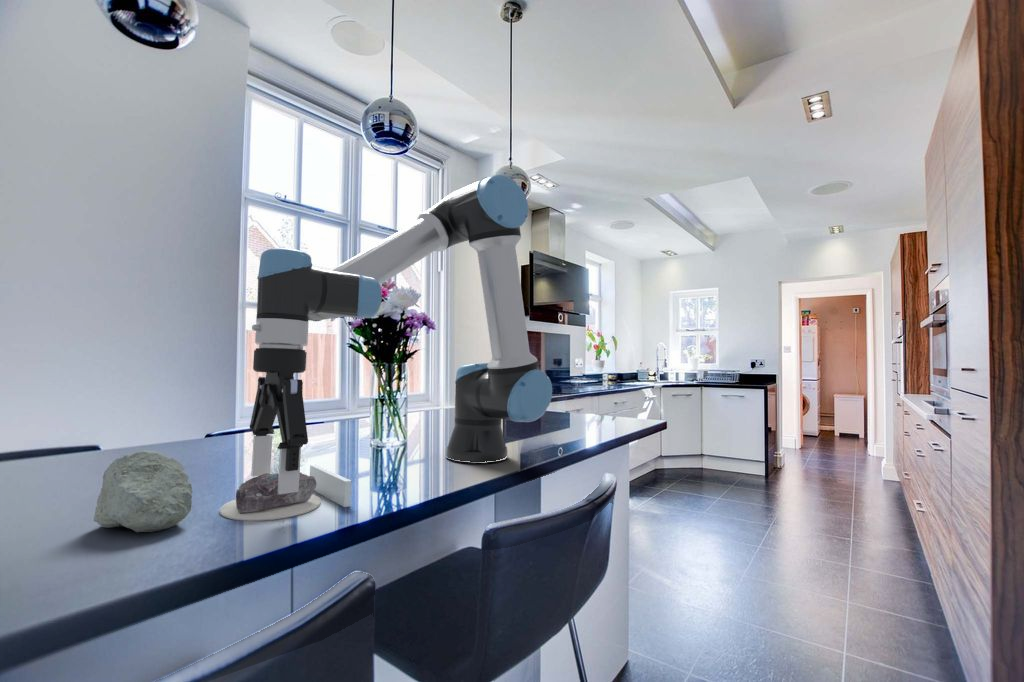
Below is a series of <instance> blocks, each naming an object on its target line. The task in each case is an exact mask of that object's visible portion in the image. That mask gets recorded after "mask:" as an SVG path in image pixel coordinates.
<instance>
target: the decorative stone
mask: <svg viewBox="0 0 1024 682" xmlns="http://www.w3.org/2000/svg"><path fill="white" fill-rule="evenodd" d="M97 496H98V497H97V499H96V506H95V510H94V515H93V521H94V522H96V523H97V524H98V525H99V526H101V527H102V528H109V529H110V528H120V527H125V528H127V529H130V530H132V531H134V532H136V533H143V532H144V533H155V532H158V531H164V530H167V529H169V528H172V527H175V526H176V525H178V524H179V523H181V522H182V521H183V520H184V519H186V518H187V516H188V515H189V514H190V512H191V510H192V507H193V506H192V504H193V501H192V499H193V487H192V484H191V483H190V480H189V476H188V474H187V473H186V472H185V468H184V465H183V463H181V462H180V461H178V460H176V459H174V458H173V457H170V456H167V455H165V454H164V453H161V452H157V451H153V450H145V449H142V450H139V451H137V452H133V453H130V454H126V455H121V456H120V457H117V458H116V459H114V460H113V462H112V463H110V464H109V466H108V467H107V468H106V469H105V470H104V472H103V475H102V488H101V489H100V492H99V495H97Z"/></svg>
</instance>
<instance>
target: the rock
mask: <svg viewBox="0 0 1024 682" xmlns="http://www.w3.org/2000/svg"><path fill="white" fill-rule="evenodd" d="M278 476H279V472H277V473H270V474H269V473H265V474H262V475H260V476H254V477H252V478H250V479H248V480H246V481H245V482H242V483H241V484H240V485H239V487H238V489H236V493H235V499H236V507H237V509H238V512H239V513H240V514H241V513H244V512H251V511H258V510H259V511H261V510H265V509H269V508H272V507H274V506H283V505H287V504H293V503H294V502H295V503H300V502H306V501H308V500H309V499H310V497H311V495H314V494H313V493H314V492H315V491H314V489H315V487H316V480H315V477H313V476H310V475H307V474H305V473H302V472H300V476H299V492H293V493H286V494H278Z"/></svg>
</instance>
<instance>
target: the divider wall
mask: <svg viewBox="0 0 1024 682" xmlns="http://www.w3.org/2000/svg"><path fill="white" fill-rule="evenodd" d="M309 476H313V477H315V480H316V487H315V489H314V491H313V492H316V493H318V494H320V496H321V495H322V497H325V498H327V499H329V500H330V501H332V502H334V503H336V504H338V505H339V506H341V507H343V508H347V507H348V508H349V507H351V503H352V502H351V499H352V498H351V497H352V480H351V479H348V478H346V477H344V476H343V475H340V474H337V473H335V472H333V471H331V470H330V469H329V470H328V469H327V468H324V467H322V466H320V465H317V464H310V465H309Z"/></svg>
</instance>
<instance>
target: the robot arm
mask: <svg viewBox="0 0 1024 682" xmlns="http://www.w3.org/2000/svg"><path fill="white" fill-rule="evenodd" d="M528 216H529V203H528V199H527V197H526V194H525V192H524V191H523V188H522V187H521V186H520V185H518V183H517V182H516V180H514V179H513V178H512V177H510V176H508V175H504V174H494V175H491V176H488V177H487V176H486V177H483V178H481V179H480V180H477V181H476V182H473V183H472V184H471V183H470V184H469V185H467V186H463V187H461V188H459V189H457V190H454V191H453V192H451V193H450V194H448V195H447V196H445V197H444V198H443V199H441V200H440V201H439V202H437V203H436V204H435V205H433V206H431V207H430V208H428V209H427V210H425V211H423V212H421V213H420V214H419V215H418V216H417V221H415V222H414V223H412V224H410V225H408V226H406V227H405V228H403V229H401V230H399V231H398V232H396V233H393V234H392V235H390V236H388V237H387V238H385V239H383V240H381V241H380V242H378V243H376V244H374V245H373V246H371V247H369V248H367V249H366V250H364V251H362V252H360V253H358V254H357V255H355V256H353V257H351V258H349V259H348V260H346V261H344V262H343V263H341V264H339V265H337V266H336V267H334V268H332V269H330V270H328V269H322V268H318V267H314V266H313V263H312V257H311V255H310V254H309V253H307V252H304V251H300V250H298V249H292V248H283V247H282V248H281V247H280V248H279V247H275V248H274V247H273V248H272V247H271V248H268V249H266V250H264V251H263V252H262V253H261V254H260V259H259V266H258V268H259V269H258V274H257V275H258V276H257V278H256V280H257V297H256V298H257V299H256V300H257V301H256V302H257V306H256V320H255V324H252V326H251V331H254V332H255V335H254V336H255V338H254V344H256V345H258V347H257V348H255V349H254V350H253V362H252V369H253V371H254V372H257V373H266V374H265V376H259V377H258V379H257V389H256V395H255V399H254V405H253V411H252V414H251V418H250V424H249V430H250V431H252V435H253V440H252V454H251V455H252V456H251V457H252V458H251V473H250V474H251V477H252V478H254V477H258V476H260V475H262V474H265V473H269V474H271V466H272V449H273V448H272V447H273V435H275V434H276V433H275V429H274V427H273V425H274V423H275V421H276V417H277V422H278V428H279V431H280V438H281V442H279V444H278V446H277V449H278V450H279V460H278V461H279V462H278V473H279V476H278V494H286V493H293V492H299V476H300V473H301V456H302V455H301V454H302V447H303V446H305V445H307V444H308V443H309V438H308V437H309V436H308V429H307V422H306V421H307V420H306V413H305V404H304V397H303V396H304V395H303V384H304V383H303V380H302V379H295V376H294V374H300V373H301V374H302V373H304V372H306V369H307V351H306V350H305V349H304V347H307V346H308V345H309V344H308V342H309V341H308V340H309V323H310V322H309V321H313V322H321V321H324V320H329V319H330V320H332V319H338V318H344V317H345V318H347V317H348V318H356V319H360V318H361V319H371V318H373V317H375V316H376V315H377V313H378V312H379V310H380V307H381V305H382V297H383V296H382V295H383V292H382V288H381V285H383V284H384V283H385V282H387V281H388V280H390V279H392V278H394V277H395V276H397V275H399V274H400V273H402V272H403V271H405V270H406V269H408V268H409V267H411V266H413V265H414V264H416V263H417V262H419V261H421V260H422V259H424V258H425V257H427V256H429V255H431V254H432V253H433V252H438V253H439V252H444V251H445V250H447V249H448V248H450V247H452V246H455V245H458V244H461V243H464V242H468V244H469V246H470V247H471V248H473V250H474V251H476V253H477V258H478V266H479V273H480V280H481V281H480V282H481V286H482V287H481V289H482V294H483V301H484V309H485V314H486V315H485V316H486V323H487V330H488V335H489V343H490V350H491V358H490V360H489V362H480V363H470V364H464V365H461V366H459V367H458V369H456V373H455V374H456V375H455V381H454V384H455V393H454V394H455V396H454V397H455V398H454V424H453V425H454V426H453V429H452V432H451V435H450V437H449V440H448V445H447V446H446V450H445V457H446V456H447V457H448V458H451V459H454V460H460V461H470V462H485V461H486V462H487V461H496V460H500V459H503V458H505V457H506V456H507V457H508V447H507V446H506V440H505V437H504V433H503V429H502V420H507V421H513V422H514V423H531V422H535V421H538V419H540V418H541V417H543V416H544V415H545V413H546V412H547V409H548V408H549V406H550V404H551V402H552V395H553V385H552V381H551V379H550V377H549V376H548V375H547V373H546V372H545V371H542V370H541V369H540V368H539V362H538V358H537V357H536V356H535V355H533V354H532V353H531V351H530V346H529V338H528V337H529V336H528V329H527V322H526V315H525V314H526V313H525V308H524V307H525V306H524V300H523V294H522V293H523V291H522V285H521V278H520V271H519V270H520V268H519V264H518V263H519V262H518V256H517V249H516V247H517V244H518V243H519V242H520V240H521V239H522V233H521V227H522V226H523V225H524V223H525V222H526V220H527V218H528Z"/></svg>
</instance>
